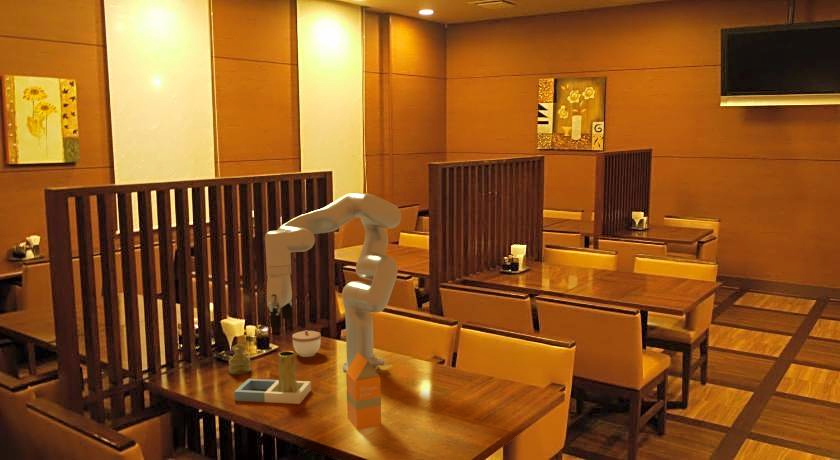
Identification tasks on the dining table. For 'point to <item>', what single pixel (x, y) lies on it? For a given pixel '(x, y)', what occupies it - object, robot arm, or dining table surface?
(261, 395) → the pocket rack
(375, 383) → the orange juice
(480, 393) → the dining table surface
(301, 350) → the lidded jar
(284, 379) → the vase
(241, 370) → the olive bulbous piece
